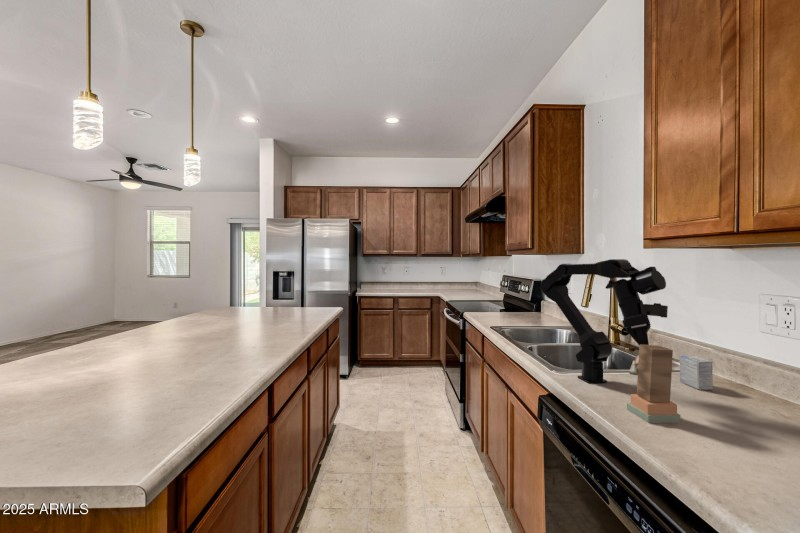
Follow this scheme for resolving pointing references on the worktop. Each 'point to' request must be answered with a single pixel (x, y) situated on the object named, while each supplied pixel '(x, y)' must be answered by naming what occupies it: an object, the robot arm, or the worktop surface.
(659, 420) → the tower base
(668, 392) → the walnut block
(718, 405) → the worktop surface
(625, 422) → the worktop surface
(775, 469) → the worktop surface
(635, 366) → the packaged product
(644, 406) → the tower top
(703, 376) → the medicine box
